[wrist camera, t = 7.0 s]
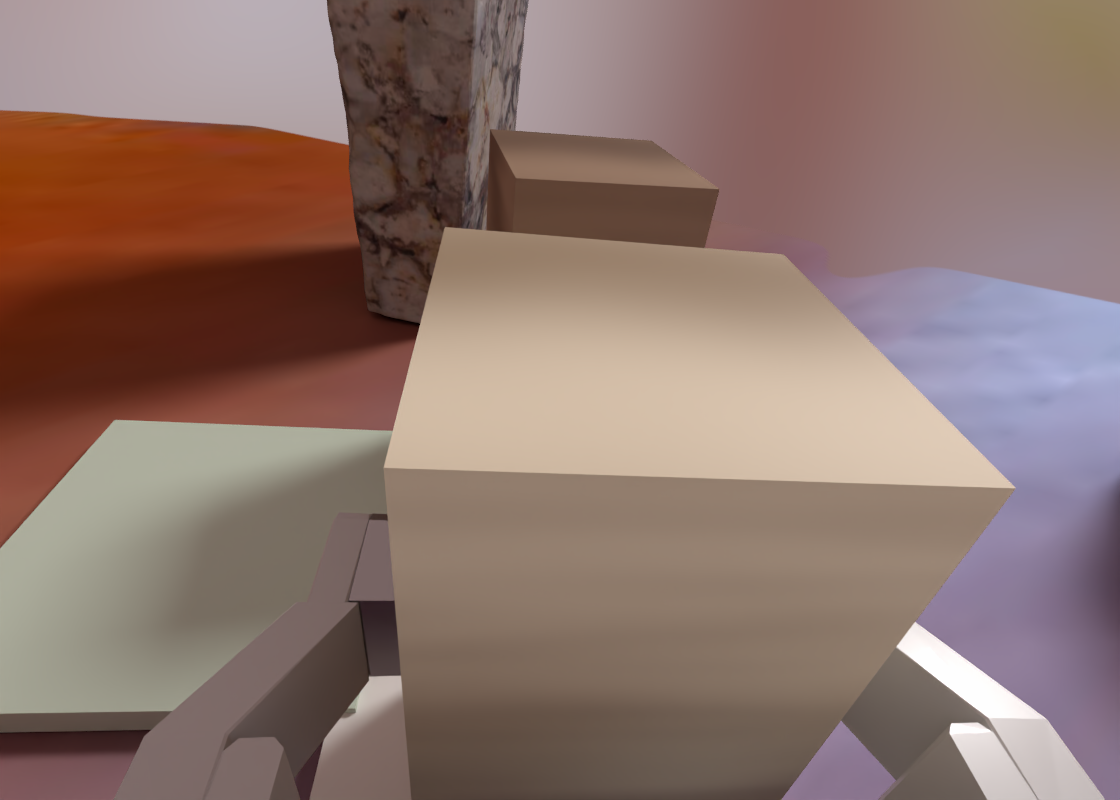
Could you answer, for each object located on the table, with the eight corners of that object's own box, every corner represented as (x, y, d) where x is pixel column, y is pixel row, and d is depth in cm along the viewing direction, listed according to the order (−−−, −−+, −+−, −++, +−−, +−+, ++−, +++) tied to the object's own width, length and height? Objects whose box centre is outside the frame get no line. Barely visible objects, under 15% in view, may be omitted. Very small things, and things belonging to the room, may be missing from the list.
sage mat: (358, 726, 14) (354, 708, 13) (-127, 734, 13) (-149, 715, 12) (413, 448, 22) (413, 431, 21) (122, 437, 21) (115, 420, 20)
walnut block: (636, 509, 21) (719, 189, 14) (493, 521, 19) (515, 178, 13) (599, 422, 25) (651, 140, 18) (478, 427, 23) (489, 128, 17)
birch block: (694, 914, 11) (1015, 488, 5) (422, 931, 10) (384, 467, 4) (644, 664, 15) (783, 254, 9) (446, 665, 15) (444, 226, 8)
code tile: (869, 1113, 10) (886, 1108, 9) (226, 1182, 9) (216, 1179, 8) (705, 597, 18) (710, 583, 17) (364, 594, 17) (361, 580, 16)
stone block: (490, 339, 29) (518, -241, 18) (348, 323, 29) (284, -276, 18) (517, 244, 40) (545, -154, 29) (414, 231, 40) (400, -174, 28)
